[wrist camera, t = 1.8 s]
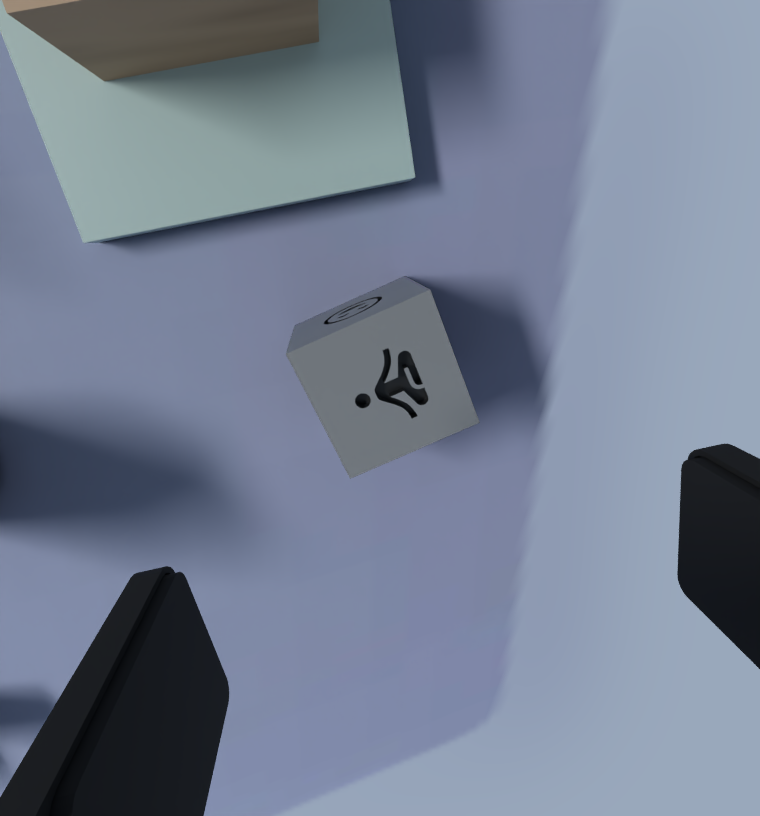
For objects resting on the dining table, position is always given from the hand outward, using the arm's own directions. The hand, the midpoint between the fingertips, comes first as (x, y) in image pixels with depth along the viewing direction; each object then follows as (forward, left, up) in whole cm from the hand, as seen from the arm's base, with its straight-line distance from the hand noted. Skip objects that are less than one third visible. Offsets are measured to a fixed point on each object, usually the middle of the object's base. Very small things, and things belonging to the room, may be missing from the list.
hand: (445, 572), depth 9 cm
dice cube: (-1, 0, -13) cm, 13 cm away
